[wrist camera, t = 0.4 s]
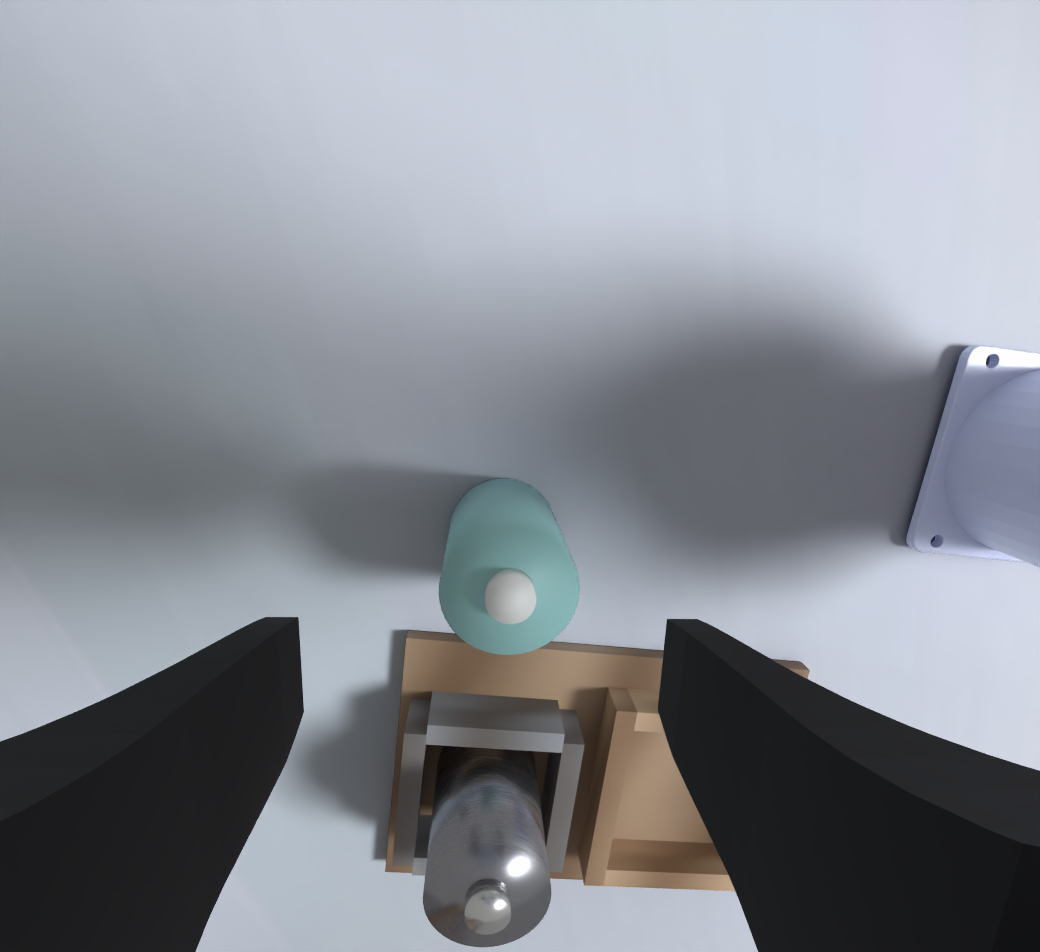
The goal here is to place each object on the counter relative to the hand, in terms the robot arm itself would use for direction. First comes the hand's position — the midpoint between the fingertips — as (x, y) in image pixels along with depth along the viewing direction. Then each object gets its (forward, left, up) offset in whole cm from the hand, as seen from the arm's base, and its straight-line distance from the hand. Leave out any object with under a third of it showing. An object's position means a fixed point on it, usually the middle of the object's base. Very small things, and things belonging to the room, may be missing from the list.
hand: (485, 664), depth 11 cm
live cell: (-1, +1, -10) cm, 10 cm away
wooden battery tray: (-6, +11, -10) cm, 16 cm away
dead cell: (-1, +11, -10) cm, 14 cm away
